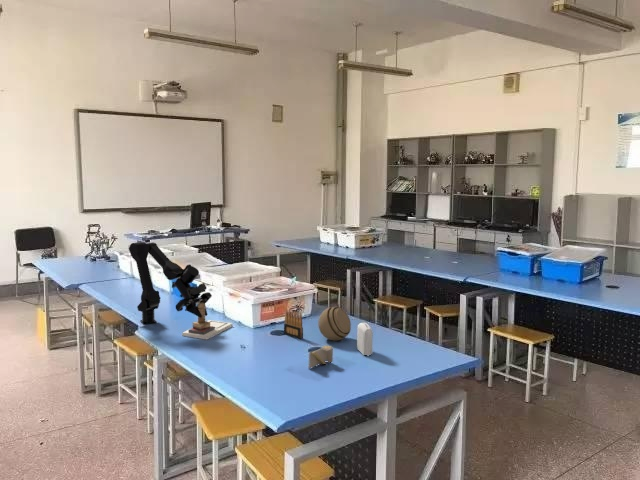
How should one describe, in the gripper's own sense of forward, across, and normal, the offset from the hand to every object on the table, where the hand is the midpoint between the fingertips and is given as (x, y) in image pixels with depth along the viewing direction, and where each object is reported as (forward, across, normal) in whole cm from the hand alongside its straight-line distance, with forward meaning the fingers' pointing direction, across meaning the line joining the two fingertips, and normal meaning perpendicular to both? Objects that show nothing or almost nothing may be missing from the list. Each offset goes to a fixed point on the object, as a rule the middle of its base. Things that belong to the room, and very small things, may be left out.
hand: (204, 316), depth 247 cm
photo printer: (+57, +18, -44) cm, 74 cm away
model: (+52, -5, -39) cm, 65 cm away
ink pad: (+4, 0, +6) cm, 7 cm away
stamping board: (+4, +5, +8) cm, 10 cm away
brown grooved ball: (+44, +26, -31) cm, 60 cm away
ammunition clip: (+31, +20, -18) cm, 41 cm away
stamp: (+3, 0, +5) cm, 6 cm away
